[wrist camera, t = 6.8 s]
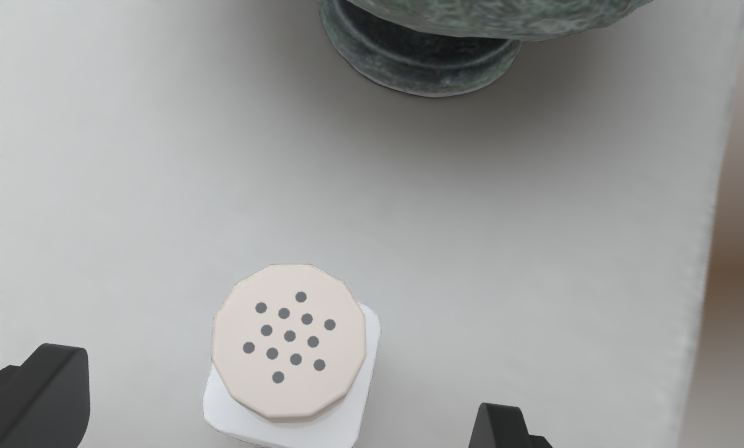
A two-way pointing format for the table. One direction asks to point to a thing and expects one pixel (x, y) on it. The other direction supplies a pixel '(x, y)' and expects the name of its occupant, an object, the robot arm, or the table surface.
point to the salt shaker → (291, 360)
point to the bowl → (453, 37)
